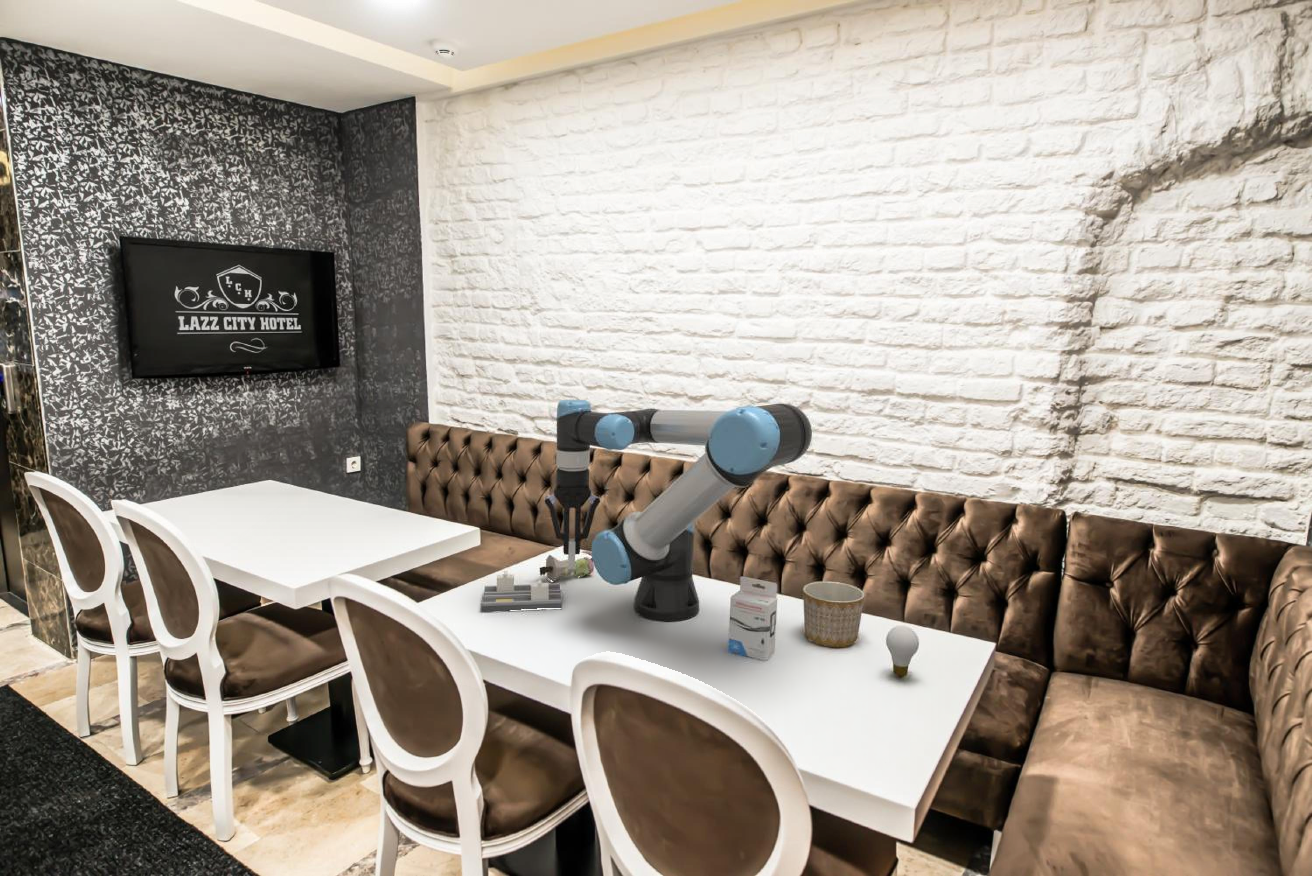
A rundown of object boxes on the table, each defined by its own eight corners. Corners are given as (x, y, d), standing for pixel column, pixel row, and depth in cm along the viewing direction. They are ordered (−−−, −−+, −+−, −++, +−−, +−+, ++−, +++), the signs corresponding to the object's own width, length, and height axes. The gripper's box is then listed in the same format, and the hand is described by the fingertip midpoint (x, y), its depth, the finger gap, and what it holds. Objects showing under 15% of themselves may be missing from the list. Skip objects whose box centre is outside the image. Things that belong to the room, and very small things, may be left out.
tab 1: (514, 588, 181) (514, 570, 181) (513, 591, 179) (513, 574, 178) (497, 588, 181) (497, 571, 180) (496, 592, 178) (496, 574, 178)
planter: (812, 622, 169) (814, 577, 167) (868, 635, 162) (871, 588, 161) (791, 641, 158) (794, 593, 156) (851, 656, 151) (854, 606, 150)
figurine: (549, 582, 186) (603, 577, 194) (546, 552, 188) (601, 548, 195) (537, 585, 193) (590, 579, 201) (534, 556, 195) (587, 551, 202)
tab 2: (548, 597, 176) (548, 579, 175) (548, 600, 173) (548, 582, 173) (530, 597, 175) (530, 580, 174) (530, 601, 173) (530, 583, 172)
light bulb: (890, 667, 147) (894, 618, 145) (920, 676, 143) (924, 626, 142) (878, 677, 142) (882, 627, 141) (909, 687, 138) (913, 635, 137)
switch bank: (559, 591, 185) (559, 583, 184) (561, 609, 173) (561, 600, 173) (484, 594, 182) (484, 585, 181) (481, 612, 170) (481, 603, 170)
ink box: (726, 652, 152) (729, 582, 150) (736, 643, 156) (739, 575, 154) (766, 661, 148) (769, 590, 146) (775, 652, 152) (778, 582, 150)
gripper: (599, 464, 176) (598, 561, 179) (543, 464, 174) (542, 563, 177) (602, 470, 169) (600, 572, 172) (544, 471, 166) (543, 573, 170)
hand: (571, 567), depth 175 cm, fingers closed
